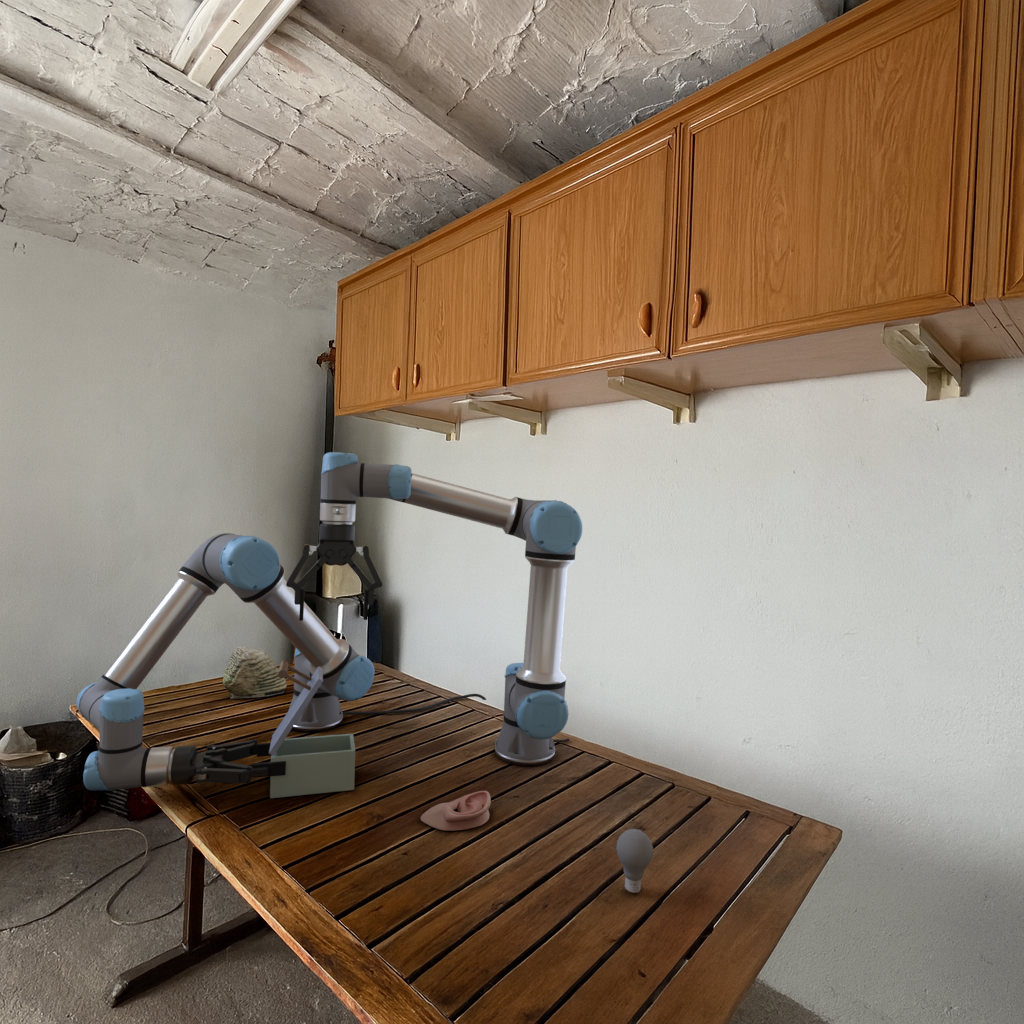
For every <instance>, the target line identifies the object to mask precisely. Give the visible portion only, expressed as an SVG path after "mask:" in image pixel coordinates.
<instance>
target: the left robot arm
mask: <svg viewBox="0 0 1024 1024" xmlns="http://www.w3.org/2000/svg"><path fill="white" fill-rule="evenodd" d="M285 574H286V570H285V568H284V567H283V565H282V564H281V557H280V555H279V553H278V551H277V549H276V548H275V547H274V546H273V545H272V544H271V543H270V542H268V541H266V540H265V539H263V538H260V537H258V536H253V535H242V534H234V533H231V532H230V533H229V532H224V533H218V534H216V535H212V536H211V537H209V538H207V539H206V540H205V541H203V542H202V543H201V544H200V545H199V546H198V547H197V549H195V550H194V551H193V553H192V554H191V555H190V556H189V557H188V559H187V560H186V561H185V562H184V563H183V565H182V566H181V568H179V570H178V571H177V576H178V578H177V580H176V581H175V582H174V584H173V585H172V586H171V587H170V588H169V590H168V592H167V593H166V594H165V595H164V597H162V599H161V600H160V601H159V602H158V604H157V605H156V606H155V608H153V611H152V612H151V613H150V614H149V615H148V617H147V618H146V619H145V621H144V622H143V623H142V624H141V626H140V627H139V628H138V629H137V631H136V632H135V633H134V634H133V636H132V637H131V638H130V640H129V641H128V642H127V643H126V644H125V646H124V647H123V648H122V650H121V651H120V652H119V654H118V655H117V656H116V657H115V659H114V660H113V661H112V662H111V664H110V665H109V667H107V669H106V670H105V671H104V673H102V675H101V677H100V678H99V679H98V680H97V681H96V682H93V683H91V684H89V685H86V686H85V687H84V688H83V689H82V690H80V692H79V693H78V695H77V698H76V709H77V710H78V712H79V713H80V715H81V717H82V718H84V720H86V721H87V722H89V723H90V724H91V725H93V727H95V728H96V729H97V730H98V731H99V746H98V747H99V748H98V750H96V751H92V752H91V753H89V755H88V756H87V758H86V761H85V764H84V770H83V773H82V777H83V779H82V781H83V785H84V787H85V788H86V790H88V791H108V792H111V791H112V792H113V791H115V790H127V789H137V788H138V789H139V788H149V787H150V788H152V787H154V788H155V789H159V788H160V787H162V786H169V785H170V784H172V785H173V786H179V785H181V786H182V785H191V784H192V783H193V782H194V779H195V783H196V784H205V783H211V784H212V783H215V784H235V785H236V784H239V785H244V784H250V783H251V782H252V779H254V778H267V777H269V778H270V776H282V775H285V771H286V761H279V762H271V761H264V762H252V765H248V764H243V763H236V761H238V760H242V759H245V758H249V757H253V756H256V757H257V758H261V757H271V754H269V749H270V744H271V742H262V743H261V742H260V743H259V741H258V739H257V738H254V739H249V740H243V741H235V742H230V743H229V742H228V743H224V744H223V743H222V744H211V745H207V746H206V751H201V752H198V751H197V746H195V745H193V744H192V745H190V744H189V745H178V746H177V747H173V746H171V745H170V746H157V747H143V736H144V735H143V734H144V717H145V716H144V715H145V713H144V712H145V709H146V708H145V707H146V706H145V699H144V698H145V697H144V693H143V691H142V690H140V689H138V688H139V687H140V685H141V684H142V683H143V681H144V680H145V679H146V678H147V676H148V675H149V673H150V672H151V671H152V670H153V668H154V667H155V665H156V664H157V663H158V662H159V660H160V659H161V658H162V656H163V655H164V653H165V652H166V651H167V650H168V648H169V647H170V646H171V644H172V643H173V642H174V641H175V639H176V638H177V637H178V636H179V634H180V633H181V631H183V629H184V627H185V626H186V625H187V623H188V622H189V621H190V619H191V618H192V617H193V615H195V613H196V612H197V610H198V609H199V608H200V606H201V605H202V603H204V601H205V600H206V599H207V597H209V596H213V595H215V594H216V593H217V591H218V590H219V589H220V588H221V586H223V585H224V584H225V585H226V586H227V587H228V588H229V589H230V590H231V591H232V592H233V593H234V594H235V595H236V596H237V597H238V598H239V599H240V600H241V601H242V602H243V603H245V604H246V603H247V604H251V603H252V604H254V605H255V606H256V607H257V608H258V609H259V610H260V611H261V612H262V613H263V614H264V616H265V617H266V618H267V619H269V621H270V622H271V623H272V624H273V625H274V626H275V627H276V628H277V629H278V631H280V633H282V634H283V636H284V637H285V638H286V639H287V640H288V641H289V642H290V644H292V645H293V646H294V647H295V650H294V655H293V657H294V668H295V669H297V670H299V671H300V672H302V673H304V674H306V675H308V676H309V677H312V675H313V674H314V672H315V671H316V669H317V668H318V666H319V667H321V668H323V682H322V684H321V685H320V687H319V688H318V690H317V691H316V693H315V694H314V696H313V697H312V699H311V700H310V702H309V703H308V705H307V706H306V708H305V709H304V711H303V712H302V714H301V715H300V717H299V718H298V720H297V721H296V723H295V724H294V726H293V727H292V729H291V731H294V732H295V731H296V732H301V733H316V732H325V731H329V730H332V729H335V728H337V727H339V726H340V725H342V723H343V722H344V716H348V715H349V716H351V715H352V716H353V715H354V716H355V715H359V716H360V715H362V716H363V715H364V716H365V715H367V716H371V715H390V714H403V713H404V714H405V713H414V712H415V713H416V712H421V711H425V710H429V709H432V708H435V707H438V706H440V705H444V704H448V703H449V702H452V701H456V700H462V699H467V698H472V697H473V698H474V697H476V698H480V699H481V700H483V701H486V700H487V698H486V697H485V696H484V695H482V694H479V693H469V694H468V693H467V694H463V695H457V696H453V697H450V698H449V697H448V698H446V699H444V700H441V701H437V702H435V703H433V704H431V705H427V706H423V707H417V708H408V709H407V708H406V709H393V710H391V709H390V710H373V711H372V710H371V711H357V710H356V711H355V710H353V711H343V709H342V706H341V702H340V700H341V701H347V702H353V701H354V702H355V701H358V700H360V699H361V698H362V697H364V696H365V695H366V694H367V693H368V692H369V690H370V689H371V688H372V685H373V683H374V679H375V678H374V676H375V674H376V672H375V666H374V664H373V662H372V660H370V659H369V658H368V657H366V656H365V655H360V654H359V653H358V652H357V651H356V650H355V649H354V648H353V647H352V645H351V644H350V643H349V642H348V641H347V640H346V639H343V638H337V637H336V636H335V635H334V634H333V633H332V632H331V631H330V630H329V628H327V626H326V625H325V624H324V623H323V622H322V620H321V619H320V618H319V617H318V616H317V615H316V613H315V612H314V611H313V610H312V609H311V607H309V606H308V604H307V603H306V602H305V601H304V613H303V621H299V615H300V605H295V603H294V600H295V590H294V589H293V588H290V587H287V586H286V583H287V580H286V579H285ZM293 673H294V672H293ZM293 677H294V678H296V679H298V680H300V681H302V682H303V683H305V684H307V683H308V681H309V680H307V679H305V678H303V677H301V676H300V675H298V674H296V673H294V674H293ZM303 689H304V687H302V686H300V685H298V684H297V683H295V682H293V695H292V696H293V697H292V699H291V702H290V704H289V708H288V711H289V710H290V708H291V707H292V705H293V704H294V702H295V701H296V699H297V698H298V696H299V695H300V693H301V692H302V690H303ZM288 711H287V712H288ZM234 761H235V762H234Z"/></svg>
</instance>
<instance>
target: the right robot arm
mask: <svg viewBox="0 0 1024 1024" xmlns="http://www.w3.org/2000/svg"><path fill="white" fill-rule="evenodd" d="M358 497H359V498H375V499H387V500H392V501H395V502H400V503H405V504H408V505H412V506H416V507H419V508H422V509H426V510H430V511H433V512H438V513H442V514H446V515H448V516H449V515H450V516H453V517H457V518H460V519H464V520H468V521H472V522H476V523H480V524H483V525H487V526H491V527H494V528H498V529H502V530H503V532H504V534H505V535H509V536H513V537H516V538H518V539H521V540H523V541H525V549H524V550H525V551H524V558H525V559H526V560H527V561H528V562H529V564H530V571H529V585H528V597H527V612H526V623H525V625H526V626H525V637H524V653H523V662H513V663H509V664H507V666H506V668H505V674H504V678H505V679H504V698H503V699H504V701H503V721H502V724H501V728H500V731H499V734H498V736H497V738H496V739H495V743H494V744H495V745H494V754H495V756H496V758H498V759H500V761H502V762H504V763H507V764H511V765H514V766H520V767H521V766H523V767H534V766H541V765H547V764H548V763H551V762H552V761H553V760H554V759H555V757H556V746H555V743H567V742H570V738H569V737H568V738H563V739H557V738H554V737H556V736H557V735H558V734H559V733H560V732H562V731H563V730H564V728H565V727H566V725H567V723H568V720H569V715H570V713H569V706H568V703H567V701H566V700H565V697H566V684H567V683H566V682H567V676H566V674H564V673H563V672H562V670H561V662H562V661H561V659H562V647H563V637H564V636H563V634H564V622H565V608H566V597H567V596H566V595H567V584H568V583H567V582H568V569H569V567H570V566H571V565H572V564H573V563H574V562H575V561H576V550H577V545H578V544H579V543H580V541H581V539H582V536H583V521H582V519H581V516H580V514H579V512H577V511H576V509H575V508H574V507H573V506H571V505H570V504H568V503H567V502H564V501H563V500H557V499H552V500H550V499H549V500H547V499H546V500H543V499H542V500H539V499H538V500H537V499H536V500H535V499H527V498H522V497H518V496H514V497H512V498H506V497H502V496H499V495H495V494H492V493H488V492H484V491H480V490H476V489H472V488H469V487H465V486H461V485H458V484H454V483H450V482H446V481H443V480H440V479H435V478H431V477H428V476H424V475H420V474H418V473H413V472H412V468H411V466H409V465H402V464H398V463H397V464H395V463H394V464H388V463H387V464H386V463H385V464H384V463H366V462H365V463H363V462H359V459H358V455H357V454H355V453H351V452H337V451H334V452H333V451H329V452H326V453H325V454H324V455H323V456H322V464H321V472H320V505H319V507H320V508H319V521H320V522H322V523H320V524H319V530H318V532H319V533H318V544H317V545H312V544H309V543H305V544H304V545H303V549H302V555H301V556H300V558H299V560H298V562H297V563H296V565H295V567H294V568H293V570H292V572H291V574H290V576H289V578H288V579H287V580H286V582H287V583H286V586H287V587H290V588H292V589H293V590H294V591H295V600H294V603H295V605H300V615H299V621H303V613H304V602H305V588H303V587H304V586H305V585H306V584H307V582H308V581H309V580H310V579H311V578H312V577H313V576H314V575H315V574H316V573H317V572H318V571H319V570H320V569H321V568H322V567H323V566H324V565H327V566H329V567H331V566H332V567H333V566H340V567H343V566H345V565H348V566H349V567H350V568H351V569H352V571H353V572H354V573H355V575H356V576H357V577H358V579H360V581H361V582H362V583H363V584H364V585H365V587H366V588H364V589H363V611H362V612H363V613H362V614H363V615H362V616H363V618H362V619H363V621H368V616H369V614H368V613H369V605H373V604H374V593H375V590H376V589H378V588H381V587H382V586H383V582H382V581H381V578H380V576H379V573H378V572H377V570H376V567H375V564H374V563H373V561H372V559H371V557H370V550H369V546H368V545H367V544H364V545H360V546H356V545H355V535H356V533H355V532H356V526H355V524H353V523H354V522H355V521H356V510H357V509H356V507H357V498H358ZM315 552H316V553H317V555H318V556H319V559H317V561H316V562H315V563H314V564H313V565H312V566H311V568H310V569H308V571H306V573H304V575H303V576H301V578H300V579H299V581H298V582H295V581H296V579H297V578H298V575H299V574H300V572H301V571H302V568H303V567H304V565H305V563H306V561H307V560H308V558H309V556H312V555H313V554H314V553H315ZM356 553H358V554H359V555H360V557H361V556H362V557H363V560H364V561H365V564H366V566H367V568H368V570H369V572H370V574H371V576H372V578H373V581H374V582H372V581H371V580H370V579H369V578H368V577H367V576H366V575H365V573H364V572H363V571H362V569H361V568H360V567H359V566H358V565H357V563H356V562H355V561H354V560H353V559H352V558H353V557H354V555H355V554H356Z"/></svg>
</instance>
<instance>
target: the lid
mask: <svg viewBox="0 0 1024 1024" xmlns="http://www.w3.org/2000/svg"><path fill="white" fill-rule="evenodd" d="M278 669H279V672H278V676H279V677H280V678H285V679H288V680H289V681H291V682H293V683H294V682H295V683H297V684H298V685H300V686H302V687H304V689H303V690H302V692H301V693H300V695H299V696H298V698H297V699H296V701H295V702H294V704H293V705H292V707H291V708H290V710H289V709H288V710H289V711H287V713H286V714H285V716H284V717H283V719H282V720H281V721H280V723H279V725H278V726H277V727H276V729H275V730H274V732H273V734H272V735H271V740H270V743H271V744H270V749H269V754H271V755H273V756H274V754H275V753H276V751H277V750H278V748H279V747H280V745H281V744H282V742H283V741H284V739H287V738H286V737H287V736H288V735H289V733H290V732H291V731H292V727H293V726H294V724H295V723H296V721H297V720H298V718H299V717H300V715H301V714H302V712H303V711H304V709H305V708H306V706H307V705H308V703H309V702H310V700H311V699H312V697H313V696H314V694H315V693H316V691H317V690H318V688H319V687H320V685H321V684H322V682H323V668H321V667H319V666H318V668H317V669H316V671H315V672H314V674H313V675H312V677H309V676H308V675H306V674H304V673H302V672H300V671H299V670H297V669H295V667H293V666H291V665H290V664H289V661H287V660H282V661H281V662H280V664H279V668H278ZM288 671H290V672H292V673H296V674H298V675H300V676H301V677H303V678H305V679H307V680H309V681H308V683H307V684H305V683H303V682H302V681H300V680H298V679H296V678H294V675H291V674H289V673H288Z"/></svg>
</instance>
